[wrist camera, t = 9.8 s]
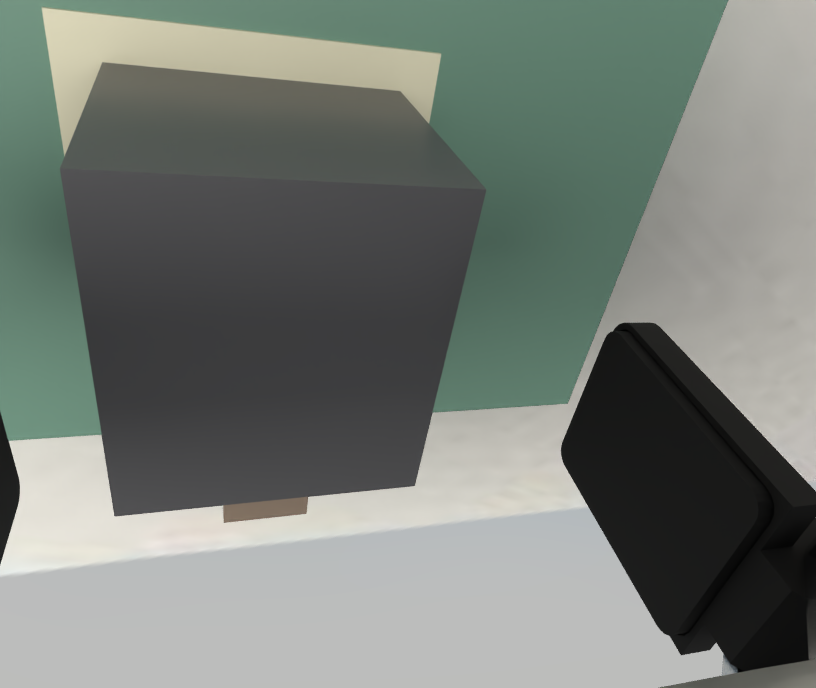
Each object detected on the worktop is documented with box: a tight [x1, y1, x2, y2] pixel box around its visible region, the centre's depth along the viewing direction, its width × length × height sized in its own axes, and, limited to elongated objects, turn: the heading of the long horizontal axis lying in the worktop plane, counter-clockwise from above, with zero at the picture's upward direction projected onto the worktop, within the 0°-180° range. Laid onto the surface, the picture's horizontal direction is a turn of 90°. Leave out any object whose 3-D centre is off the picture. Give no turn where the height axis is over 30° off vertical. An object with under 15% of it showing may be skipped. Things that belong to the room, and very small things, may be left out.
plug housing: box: [60, 62, 486, 523], centre depth 13 cm, size 6×8×5 cm, turn 171°
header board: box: [0, 0, 728, 441], centre depth 14 cm, size 20×12×4 cm, turn 81°
